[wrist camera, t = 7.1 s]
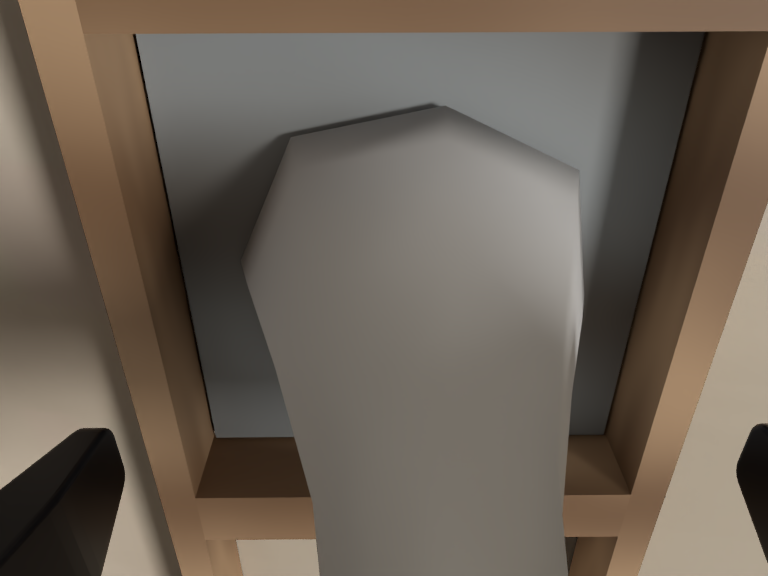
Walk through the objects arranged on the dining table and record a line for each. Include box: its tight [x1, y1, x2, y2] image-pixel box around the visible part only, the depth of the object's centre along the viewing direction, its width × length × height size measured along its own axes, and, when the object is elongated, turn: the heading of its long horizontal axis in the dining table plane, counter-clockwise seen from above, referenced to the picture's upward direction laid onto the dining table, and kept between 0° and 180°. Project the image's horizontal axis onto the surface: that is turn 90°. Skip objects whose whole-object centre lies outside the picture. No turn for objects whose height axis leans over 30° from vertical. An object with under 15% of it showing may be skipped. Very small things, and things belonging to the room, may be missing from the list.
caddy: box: [18, 0, 768, 576], centre depth 16 cm, size 23×12×2 cm, turn 0°
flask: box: [241, 105, 584, 576], centre depth 9 cm, size 7×7×10 cm
